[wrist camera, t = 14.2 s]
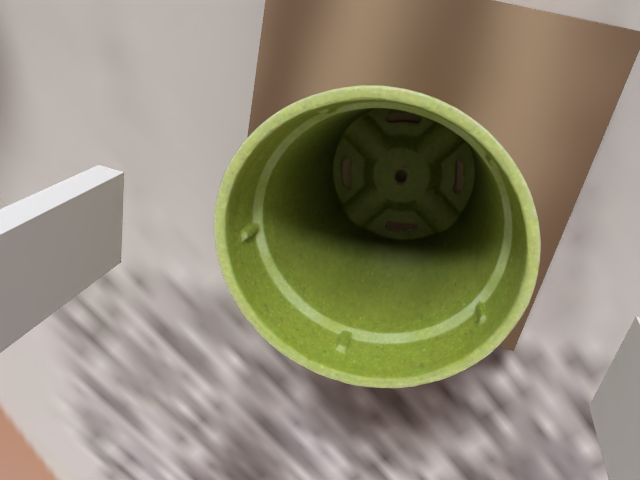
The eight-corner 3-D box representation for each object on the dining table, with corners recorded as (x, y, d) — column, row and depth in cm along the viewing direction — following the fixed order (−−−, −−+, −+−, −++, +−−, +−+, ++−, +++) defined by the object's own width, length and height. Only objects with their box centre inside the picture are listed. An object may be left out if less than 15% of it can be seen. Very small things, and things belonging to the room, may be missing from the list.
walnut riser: (252, 242, 31) (230, 265, 28) (294, -41, 25) (271, -46, 22) (510, 317, 29) (513, 350, 26) (626, 28, 22) (646, 33, 20)
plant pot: (286, 60, 23) (190, 93, 16) (528, 47, 21) (556, 79, 13) (304, 265, 27) (234, 374, 19) (513, 275, 24) (527, 404, 17)
